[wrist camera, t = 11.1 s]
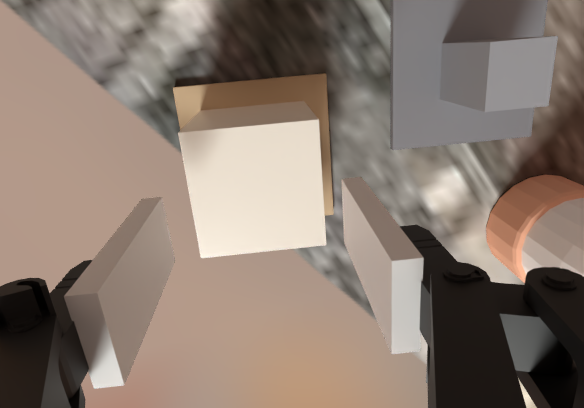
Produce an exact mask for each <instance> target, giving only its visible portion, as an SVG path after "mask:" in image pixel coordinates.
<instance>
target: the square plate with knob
mask: <svg viewBox="0 0 584 408" xmlns="http://www.w3.org/2000/svg"><path fill="white" fill-rule="evenodd" d="M547 2H548V0H391V149H392V150H399V149H409V148H419V147H429V146H439V145H449V144H459V143H470V142H480V141H490V140H500V139H510V138H520V137H530V136H531V131H532V123H533V115H534V107H543V106H549V98H550V91H551V83H552V76H553V68H554V61H555V54H556V46H557V39H558V36H545V37H543V34H544V26H545V18H546V10H547Z"/></svg>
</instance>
